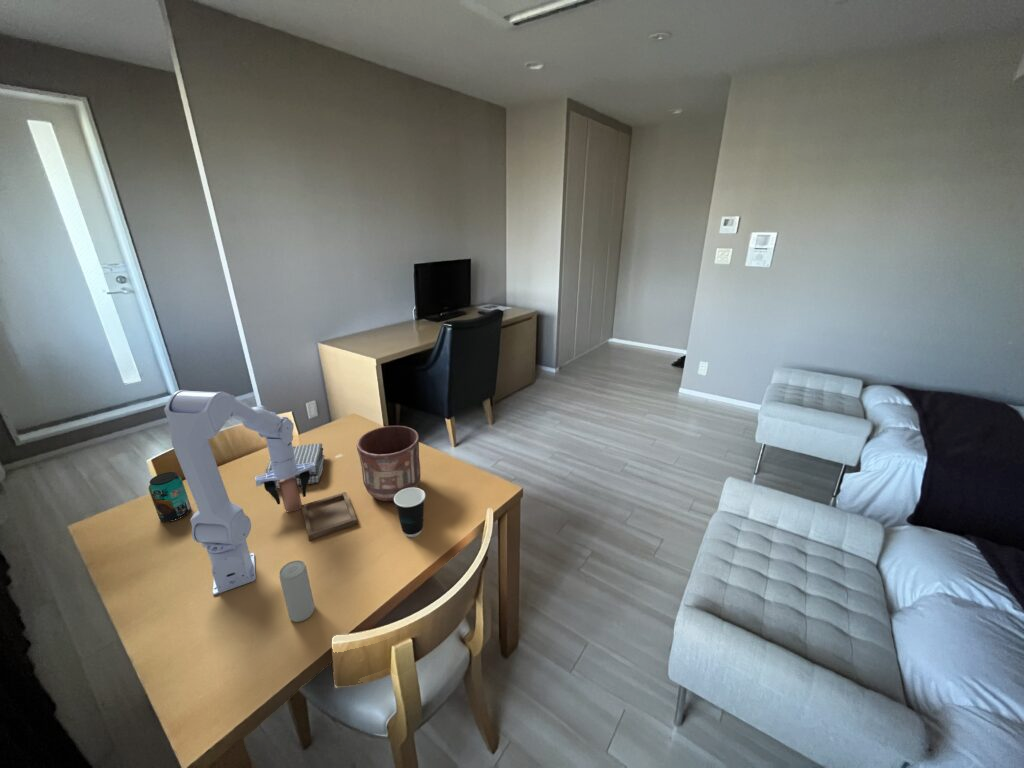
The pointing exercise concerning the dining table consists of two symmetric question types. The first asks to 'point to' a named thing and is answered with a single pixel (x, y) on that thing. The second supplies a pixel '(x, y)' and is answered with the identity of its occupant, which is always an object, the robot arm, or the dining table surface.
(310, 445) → the towel
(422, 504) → the dixie cup
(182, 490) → the beverage can
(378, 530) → the dining table surface
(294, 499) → the dowel
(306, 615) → the beverage can
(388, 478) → the pottery
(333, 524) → the tray
